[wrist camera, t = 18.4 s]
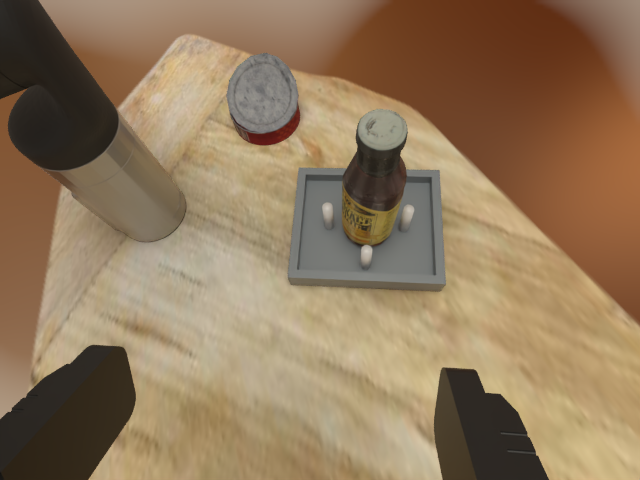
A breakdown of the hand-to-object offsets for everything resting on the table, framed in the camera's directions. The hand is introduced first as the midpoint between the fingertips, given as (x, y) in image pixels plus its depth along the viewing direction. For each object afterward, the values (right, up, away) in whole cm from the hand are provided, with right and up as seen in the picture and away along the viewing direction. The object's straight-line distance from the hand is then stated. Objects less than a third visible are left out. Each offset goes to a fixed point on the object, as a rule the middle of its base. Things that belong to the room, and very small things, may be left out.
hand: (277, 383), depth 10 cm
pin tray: (+7, +5, +41) cm, 42 cm away
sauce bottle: (+7, +5, +40) cm, 41 cm away
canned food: (-7, +22, +50) cm, 55 cm away
